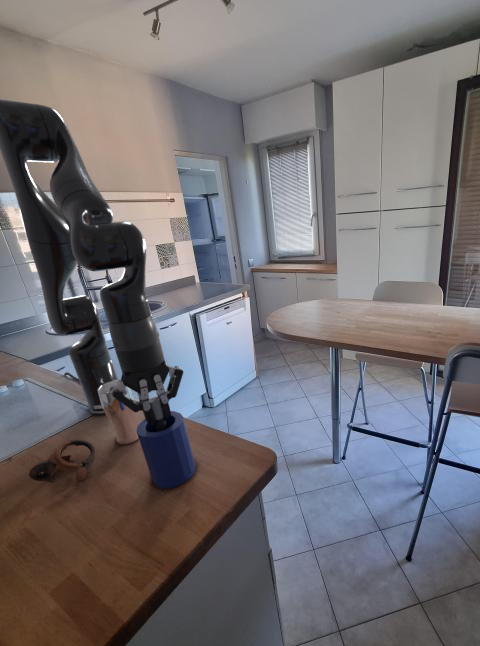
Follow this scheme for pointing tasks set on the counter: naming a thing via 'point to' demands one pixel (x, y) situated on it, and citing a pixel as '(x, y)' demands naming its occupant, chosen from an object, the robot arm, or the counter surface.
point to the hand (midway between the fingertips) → (159, 420)
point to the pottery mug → (64, 463)
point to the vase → (167, 451)
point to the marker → (158, 413)
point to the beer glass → (119, 413)
